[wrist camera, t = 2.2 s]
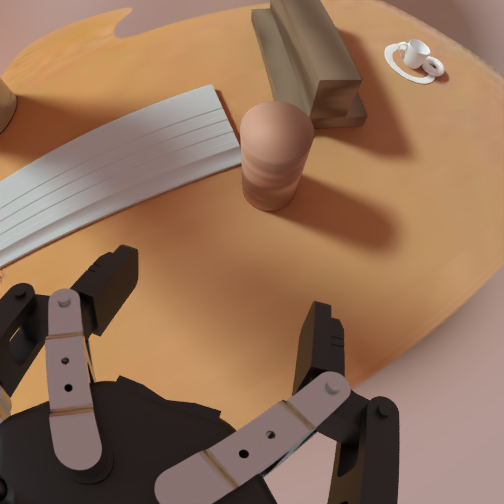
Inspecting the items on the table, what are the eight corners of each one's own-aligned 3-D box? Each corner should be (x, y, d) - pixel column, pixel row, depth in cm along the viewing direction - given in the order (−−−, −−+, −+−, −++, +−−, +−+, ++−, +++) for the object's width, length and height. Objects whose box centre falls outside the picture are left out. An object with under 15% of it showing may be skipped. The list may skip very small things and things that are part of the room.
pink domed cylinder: (246, 215, 30) (246, 165, 20) (239, 167, 31) (235, 105, 21) (300, 207, 30) (322, 156, 20) (289, 160, 31) (304, 98, 21)
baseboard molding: (250, 177, 31) (213, 92, 34) (250, 164, 28) (210, 75, 31) (0, 283, 29) (-7, 195, 31) (-16, 279, 26) (-20, 187, 28)
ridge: (282, 131, 32) (290, 81, 24) (251, 20, 36) (252, -25, 28) (361, 126, 32) (386, 80, 24) (314, 18, 36) (322, -25, 28)
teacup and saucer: (442, 70, 35) (454, 53, 31) (432, 98, 34) (445, 80, 30) (392, 39, 36) (400, 20, 32) (376, 63, 35) (385, 43, 31)
